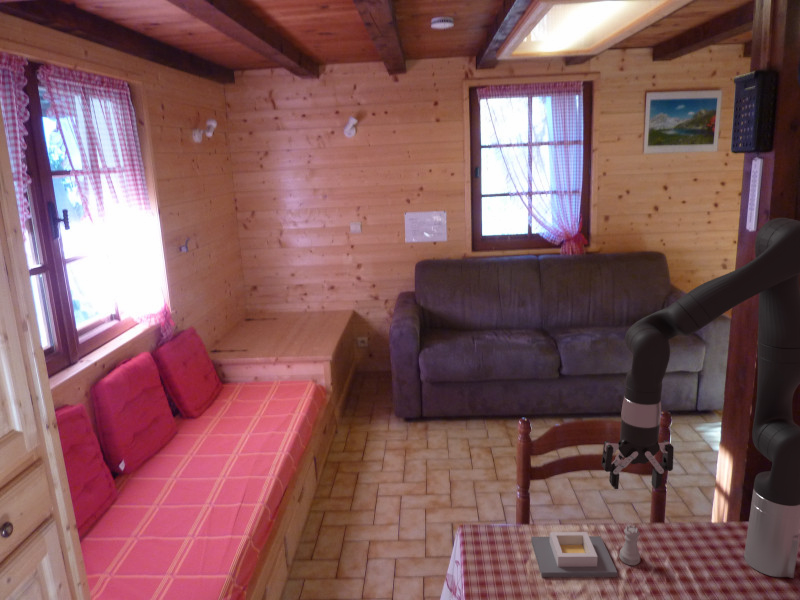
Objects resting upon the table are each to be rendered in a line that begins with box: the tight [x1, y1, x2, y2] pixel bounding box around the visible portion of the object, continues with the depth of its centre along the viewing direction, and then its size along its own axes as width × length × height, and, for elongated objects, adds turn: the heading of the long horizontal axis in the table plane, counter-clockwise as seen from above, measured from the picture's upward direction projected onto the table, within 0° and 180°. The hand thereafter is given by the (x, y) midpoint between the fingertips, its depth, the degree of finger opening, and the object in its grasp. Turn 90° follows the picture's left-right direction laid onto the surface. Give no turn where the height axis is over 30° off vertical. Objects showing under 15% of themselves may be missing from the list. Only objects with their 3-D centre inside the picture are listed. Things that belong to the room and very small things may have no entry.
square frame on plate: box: [530, 531, 618, 578], centre depth 132 cm, size 16×12×4 cm
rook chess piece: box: [618, 524, 641, 566], centre depth 131 cm, size 4×4×8 cm
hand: (635, 487), depth 127 cm, fingers open, 8 cm apart
